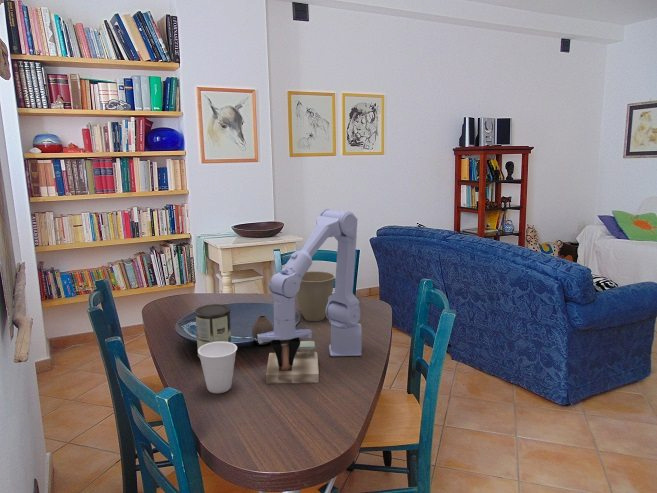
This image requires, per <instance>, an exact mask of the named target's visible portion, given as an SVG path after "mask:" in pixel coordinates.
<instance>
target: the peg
mask: <svg viewBox="0 0 657 493" xmlns="http://www.w3.org/2000/svg"><path fill="white" fill-rule="evenodd" d="M281 346H282V351H281V359H282V367H281V371H290V364H289V345H288V343H283V344H282V343H281Z"/></svg>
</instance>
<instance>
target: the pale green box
mask: <svg viewBox="0 0 657 493" xmlns="http://www.w3.org/2000/svg"><path fill="white" fill-rule="evenodd" d="M298 350H309V352H310V356H314V352H315V350H316V345H315V340H306V341H305V340H302V341H301V340H300V346H299V348H298V349H297V351H296V354H295V356H297V352H298Z"/></svg>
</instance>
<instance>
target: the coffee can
mask: <svg viewBox="0 0 657 493" xmlns="http://www.w3.org/2000/svg"><path fill="white" fill-rule="evenodd" d="M194 315H195V328H196V344H197V350H198V349H199V348H200V347H201V346H203V345H205V344H208V343H212V342H221V341H222V342H230V343H232V333H231V332H232V330H231V308H230V306H229V305H225V304H221V303H220V304H218V303H216V304H213V303H212V304H207V305H202V306H199V307H197V308H195V310H194ZM197 357H198V358H199V359H200V356H199V354H198V353H197Z"/></svg>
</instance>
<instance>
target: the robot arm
mask: <svg viewBox="0 0 657 493" xmlns="http://www.w3.org/2000/svg"><path fill="white" fill-rule="evenodd" d="M357 233H358V218H357V216H356V215H355V214H354V213H353V212H351V211H342V210H337V209H336V210H335V209H331V208H325V209H323V210H322V211H321V212H320V213H319V215H318V216H317V217H316V225H315V227H314V229H313V231H312V232H311V234H310V235H309V237H308V239H307V240H306V242H305V243H304V245H303V247H302V248H301V250H296V251H294V252H293V253H291V255H290V258H289V260H287V262H286V263H285V265H284V266H283V267H282V269H281V270H280V271H279V272H276V273H275V274H273V275H272V276H271V278H270V280H269V284H268V285H267V286H268V290H269V291H270V292H271V297H272V298H271V299H273V330H274V331H271V332H267V333H263V334H258V335H257V336H258V343H259V344H258V345H260V344H261V343H263V342H269V343H270V345H271V346H272V348H273V350H274V353H276V357H277V361H278V365H279V367H282V359H281V351H282V346H281V345H282V342H281V341H287V342H288V343H287V344H288V345H289V364H290V366H292V365H293V360H294V357H295V354H296V351H297V352H298V350H299V349H298V348H299V346H300V341H301V340H300V339H312V337H313V336H312V335H313V334H312V332H313V331H312V329H309V328H307V329H306V328H305V329H302V328H300V329H299V328H298V329H297V328H296V296H297V293H298V292H299V289H300V283H301V282H302V277H303V276H304V275H305V273H306V272H308V270H309V269H310V267H311V266H312V265H313V259H312V258H313V256H314V255H315V254H316V253H317V252H318V250H319V249H321V247H322V245H324V243H325V242H326V241H327V239H328V238H332V237H333V238H335V240H336V241H337V249H336V250H337V253H336V269H335V279H334V292H332V295H330V296H329V297H328V304H327V306H326V310H325V313H326V315H325V318H327V319H328V321H329V323H330V344H328V349H329V350H328V351H329V356H330V357H356V356H357V357H359V356H360V357H361V356H362V345H363V343H362V342H363V341H362V339H363V336H362V335H363V333H362V331H363V330H362V324H361V323H358V322H359V321H360V320H361V315H362V314H361V309H360V300H359V299H358V298H357V296H356V295H355V294H354V293H353V292H354V291H353V290H354V279H355V278H354V277H355V266H356V265H355V264H356V252H357V251H356V250H357V238H358V237H357V236H358V235H357Z"/></svg>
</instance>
